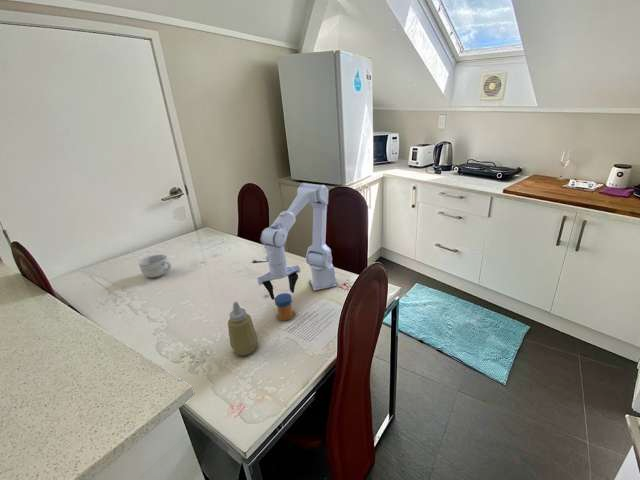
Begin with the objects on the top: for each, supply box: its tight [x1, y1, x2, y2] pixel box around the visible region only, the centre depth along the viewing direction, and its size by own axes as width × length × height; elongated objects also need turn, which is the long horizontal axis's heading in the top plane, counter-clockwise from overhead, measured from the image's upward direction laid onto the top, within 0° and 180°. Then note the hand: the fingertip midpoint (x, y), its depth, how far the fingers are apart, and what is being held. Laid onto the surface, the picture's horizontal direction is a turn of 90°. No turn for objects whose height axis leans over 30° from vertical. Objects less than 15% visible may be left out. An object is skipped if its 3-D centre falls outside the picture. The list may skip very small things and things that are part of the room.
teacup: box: [137, 254, 172, 279], centre depth 142 cm, size 14×11×8 cm
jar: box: [276, 303, 294, 321], centre depth 113 cm, size 5×5×8 cm
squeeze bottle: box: [227, 301, 258, 356], centre depth 96 cm, size 8×8×18 cm
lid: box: [274, 292, 293, 307], centre depth 112 cm, size 6×6×2 cm
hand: (282, 294), depth 111 cm, fingers open, 6 cm apart
